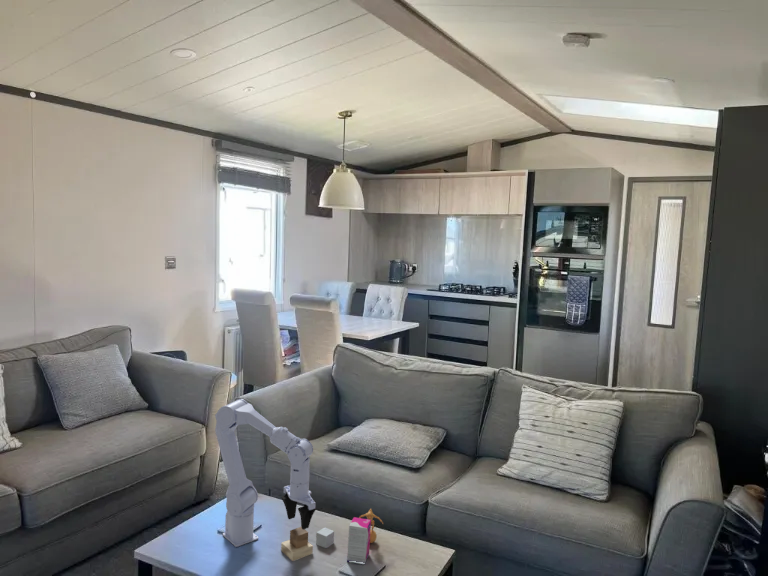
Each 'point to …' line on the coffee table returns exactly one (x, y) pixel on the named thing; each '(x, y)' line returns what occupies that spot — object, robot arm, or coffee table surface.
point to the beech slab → (296, 550)
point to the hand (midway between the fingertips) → (298, 523)
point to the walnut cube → (298, 537)
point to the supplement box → (359, 540)
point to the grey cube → (325, 537)
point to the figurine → (370, 517)
